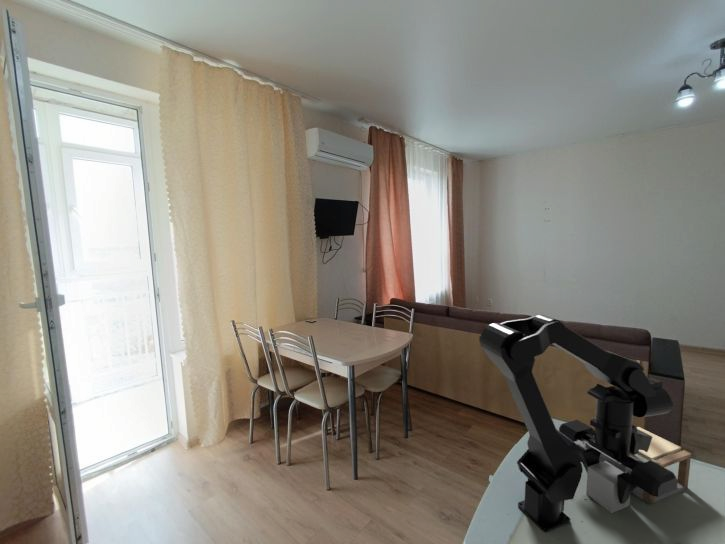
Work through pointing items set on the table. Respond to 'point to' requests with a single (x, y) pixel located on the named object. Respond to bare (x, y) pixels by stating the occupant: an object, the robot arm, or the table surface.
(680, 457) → the frame
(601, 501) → the light grey block
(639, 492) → the mat
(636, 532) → the table surface
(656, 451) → the trapdoor
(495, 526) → the table surface
